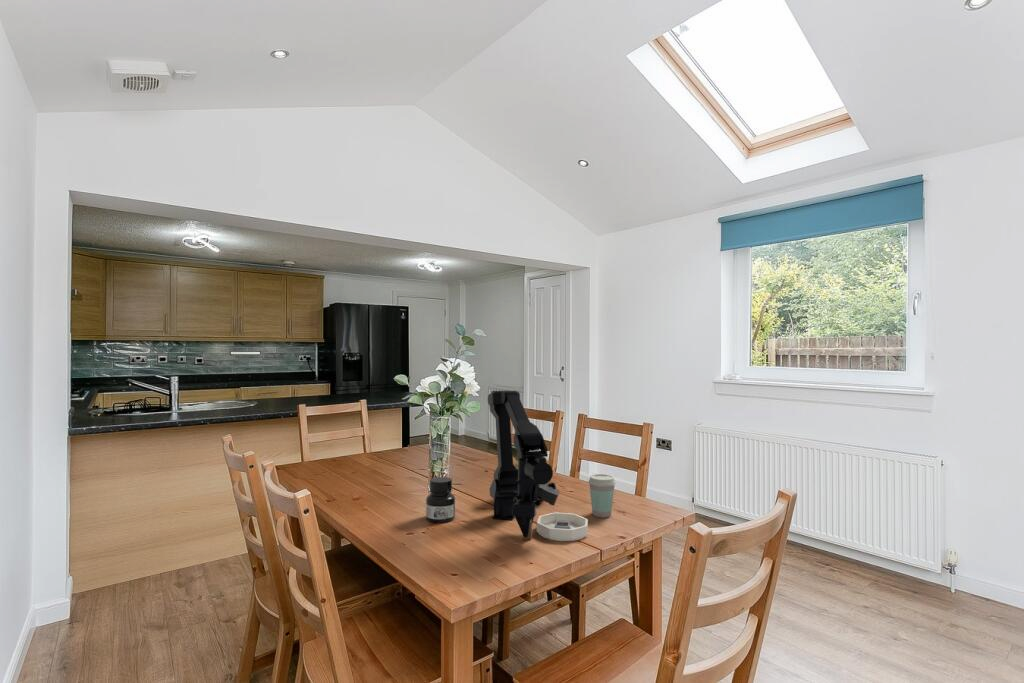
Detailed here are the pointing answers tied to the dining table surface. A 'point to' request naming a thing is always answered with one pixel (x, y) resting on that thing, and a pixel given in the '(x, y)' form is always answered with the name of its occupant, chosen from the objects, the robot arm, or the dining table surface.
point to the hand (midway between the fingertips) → (527, 531)
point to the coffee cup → (601, 494)
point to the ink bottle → (440, 500)
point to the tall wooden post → (529, 532)
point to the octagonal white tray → (562, 526)
